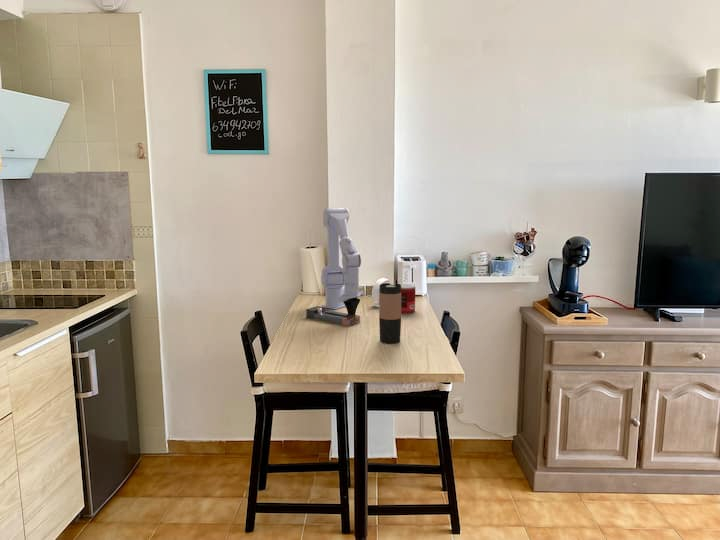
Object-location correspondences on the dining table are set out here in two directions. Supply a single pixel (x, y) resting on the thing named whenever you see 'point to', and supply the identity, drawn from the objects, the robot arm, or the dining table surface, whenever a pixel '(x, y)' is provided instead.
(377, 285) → the headphone stand
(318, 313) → the tongs base
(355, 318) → the tong arm
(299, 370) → the dining table surface
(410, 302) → the canned food
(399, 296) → the travel mug
